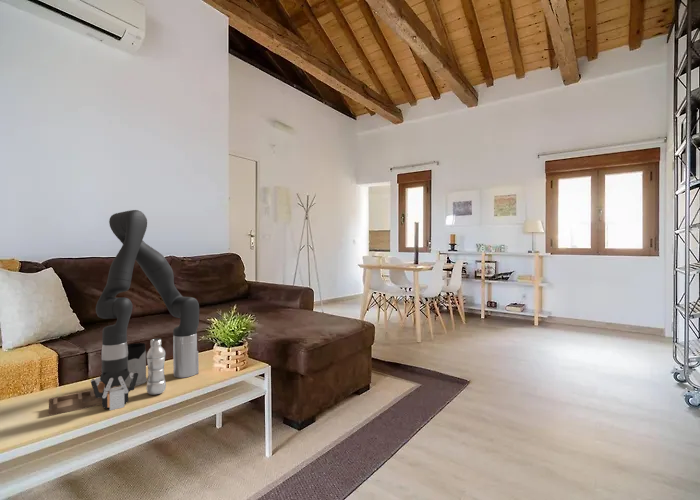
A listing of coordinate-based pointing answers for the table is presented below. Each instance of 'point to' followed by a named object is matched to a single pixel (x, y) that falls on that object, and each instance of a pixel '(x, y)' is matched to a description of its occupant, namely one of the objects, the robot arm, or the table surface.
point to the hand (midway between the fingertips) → (115, 405)
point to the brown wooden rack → (75, 401)
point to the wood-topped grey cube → (115, 398)
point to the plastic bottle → (156, 368)
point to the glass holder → (137, 362)
